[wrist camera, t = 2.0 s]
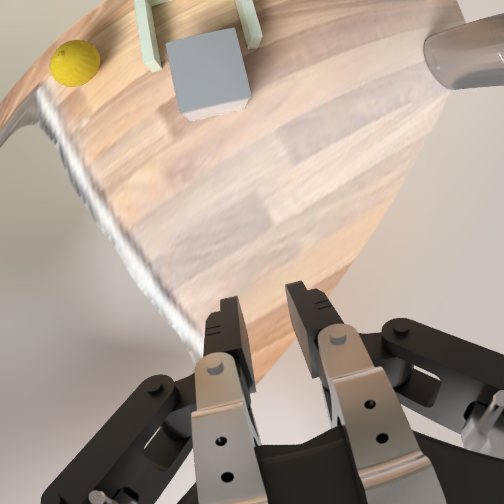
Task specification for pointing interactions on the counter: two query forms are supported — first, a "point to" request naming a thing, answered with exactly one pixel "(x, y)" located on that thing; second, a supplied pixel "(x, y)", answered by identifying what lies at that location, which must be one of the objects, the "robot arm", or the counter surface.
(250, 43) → the bay
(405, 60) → the counter surface
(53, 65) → the lemon
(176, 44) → the lidded grey box
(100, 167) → the counter surface
